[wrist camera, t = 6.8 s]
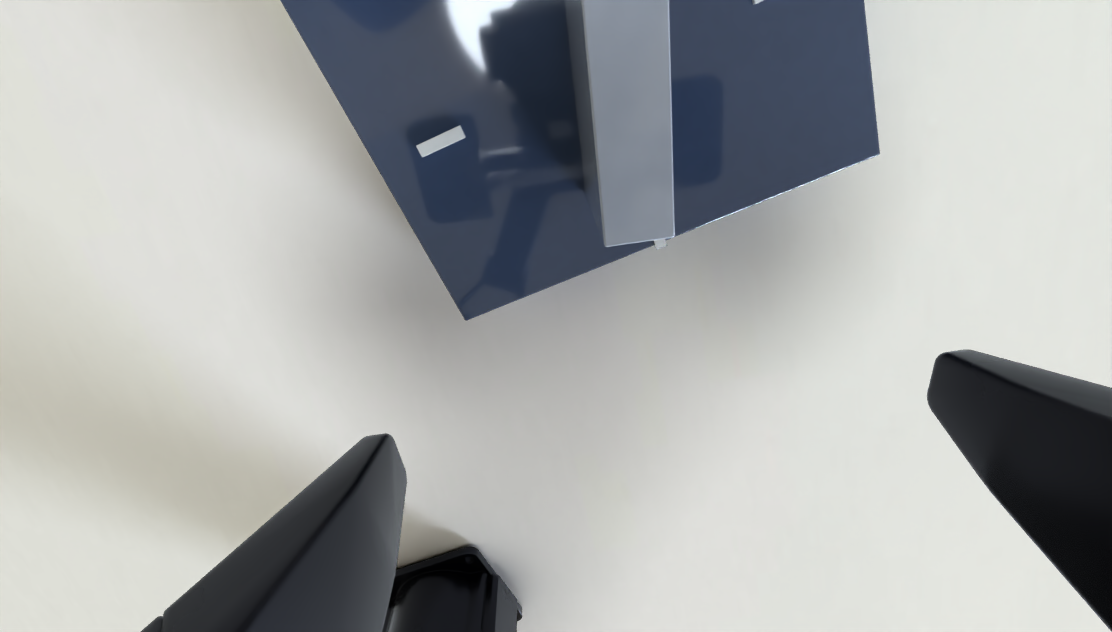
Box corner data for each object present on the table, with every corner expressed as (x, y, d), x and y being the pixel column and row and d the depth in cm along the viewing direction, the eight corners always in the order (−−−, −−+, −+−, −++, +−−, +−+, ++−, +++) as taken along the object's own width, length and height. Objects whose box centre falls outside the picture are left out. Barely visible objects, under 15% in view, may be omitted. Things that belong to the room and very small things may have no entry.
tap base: (475, 288, 20) (466, 326, 17) (303, -27, 15) (249, -47, 12) (828, 142, 18) (884, 158, 15) (765, -278, 13) (831, -373, 10)
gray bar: (637, 190, 15) (678, 241, 11) (585, 198, 15) (606, 252, 11) (620, -100, 12) (669, -187, 8) (554, -90, 12) (566, -170, 8)
